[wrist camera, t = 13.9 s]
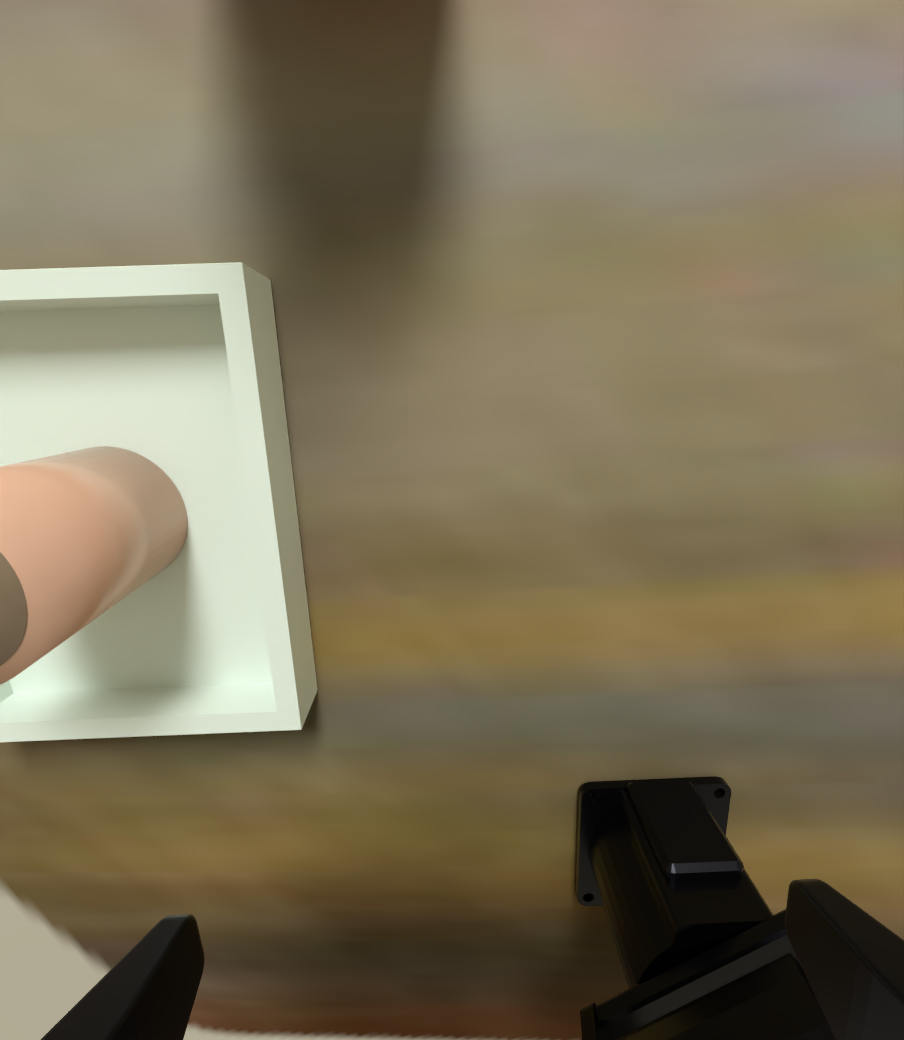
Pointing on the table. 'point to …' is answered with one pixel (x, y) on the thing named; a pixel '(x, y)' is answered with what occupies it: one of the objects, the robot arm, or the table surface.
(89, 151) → the table surface
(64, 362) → the tray
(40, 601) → the cup
